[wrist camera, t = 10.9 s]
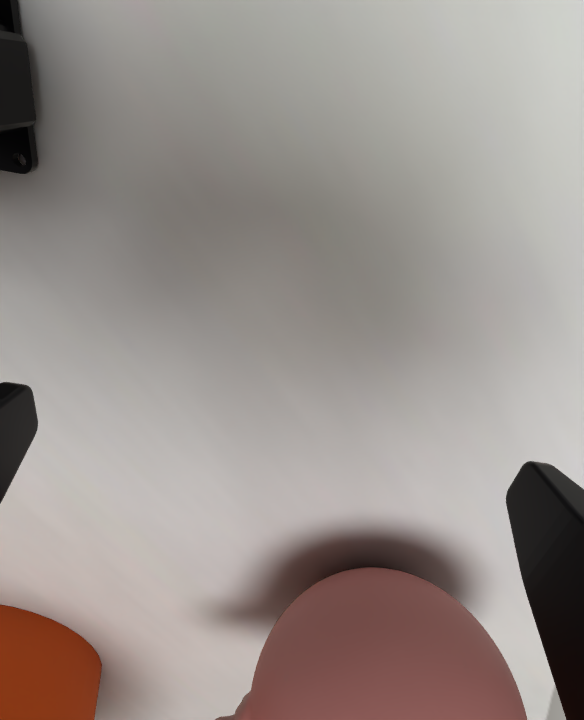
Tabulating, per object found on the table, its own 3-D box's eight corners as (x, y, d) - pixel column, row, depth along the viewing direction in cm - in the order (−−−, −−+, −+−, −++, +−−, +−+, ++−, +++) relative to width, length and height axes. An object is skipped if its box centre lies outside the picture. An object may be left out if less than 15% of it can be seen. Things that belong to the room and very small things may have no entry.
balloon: (174, 530, 30) (66, 877, 17) (484, 507, 28) (640, 888, 15) (227, 648, 38) (182, 947, 25) (472, 638, 36) (566, 961, 22)
